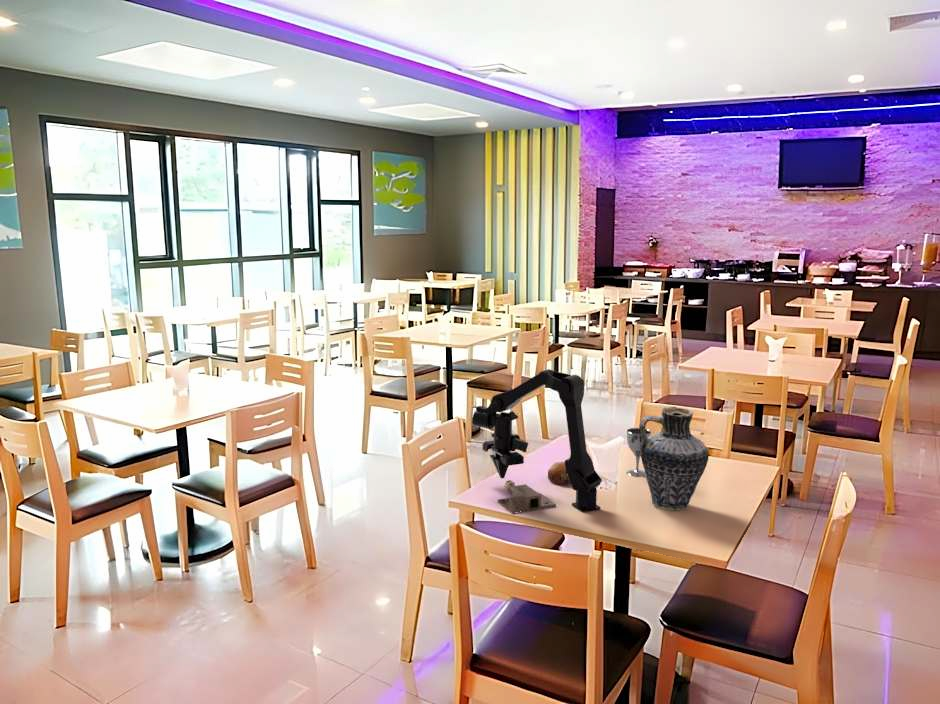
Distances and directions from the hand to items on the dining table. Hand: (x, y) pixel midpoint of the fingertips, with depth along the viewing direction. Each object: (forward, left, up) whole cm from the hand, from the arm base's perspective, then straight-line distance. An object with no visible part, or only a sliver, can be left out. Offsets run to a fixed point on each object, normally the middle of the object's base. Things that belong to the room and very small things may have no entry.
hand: (502, 478), depth 245 cm
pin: (-11, 0, -3) cm, 12 cm away
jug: (-35, -39, -3) cm, 53 cm away
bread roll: (-2, -21, -3) cm, 22 cm away
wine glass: (-6, -48, -3) cm, 49 cm away
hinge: (-17, 0, -3) cm, 17 cm away
